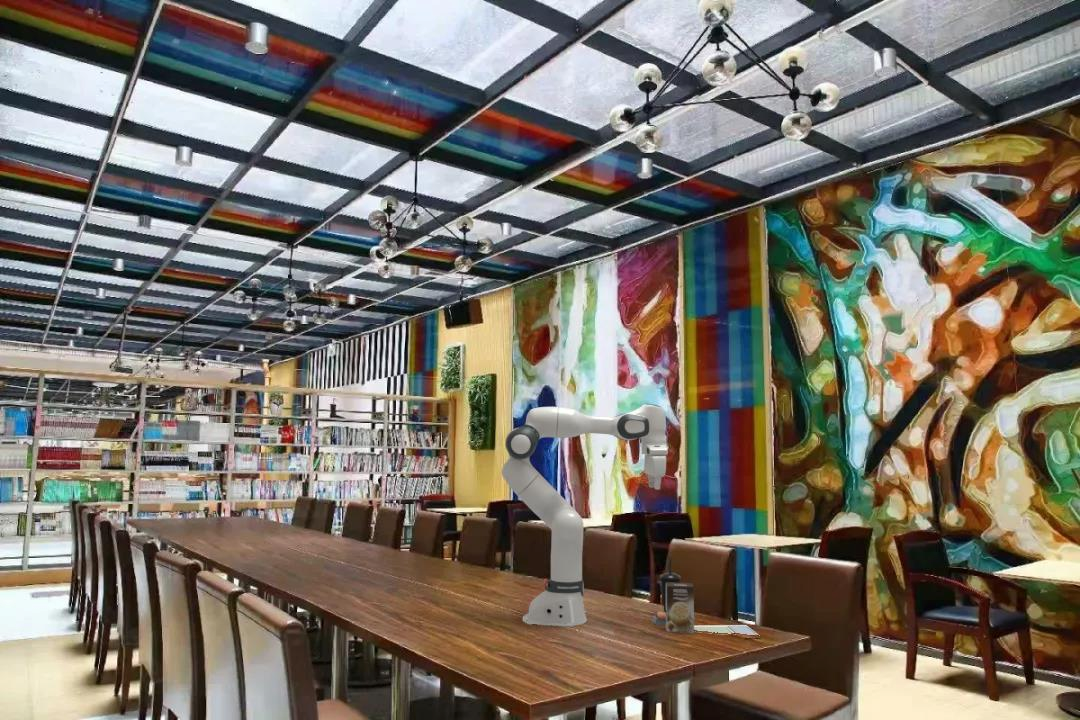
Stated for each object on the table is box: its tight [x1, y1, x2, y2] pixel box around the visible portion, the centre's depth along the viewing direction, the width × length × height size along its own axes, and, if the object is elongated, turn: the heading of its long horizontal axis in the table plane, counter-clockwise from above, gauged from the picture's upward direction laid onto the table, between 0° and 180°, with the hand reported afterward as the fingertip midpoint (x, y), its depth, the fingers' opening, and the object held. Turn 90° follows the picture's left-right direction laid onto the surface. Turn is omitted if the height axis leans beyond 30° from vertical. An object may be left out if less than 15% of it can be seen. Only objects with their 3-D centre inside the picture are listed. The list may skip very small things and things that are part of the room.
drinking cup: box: [659, 557, 682, 612], centre depth 273 cm, size 8×8×20 cm
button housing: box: [651, 615, 666, 627], centre depth 255 cm, size 6×6×3 cm
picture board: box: [694, 624, 759, 635], centre depth 246 cm, size 20×15×1 cm
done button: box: [656, 611, 666, 619], centre depth 255 cm, size 3×3×2 cm
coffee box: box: [665, 582, 695, 634], centre depth 246 cm, size 9×6×16 cm
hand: (654, 488), depth 261 cm, fingers open, 8 cm apart
